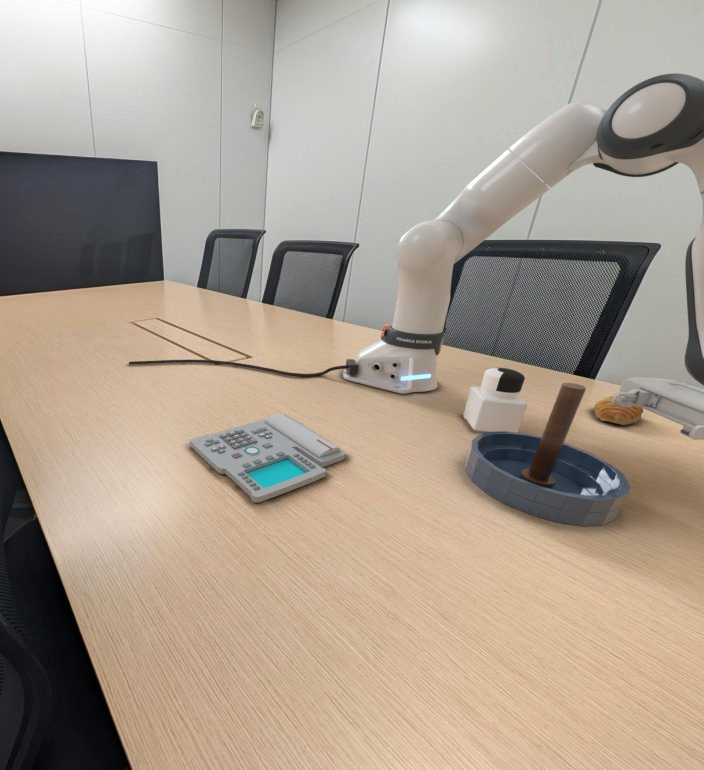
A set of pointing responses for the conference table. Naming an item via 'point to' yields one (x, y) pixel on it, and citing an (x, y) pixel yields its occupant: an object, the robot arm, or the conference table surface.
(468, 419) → the medicine bottle
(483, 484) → the bowl
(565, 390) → the stirring stick
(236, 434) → the office telephone
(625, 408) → the pastry
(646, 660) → the conference table surface
